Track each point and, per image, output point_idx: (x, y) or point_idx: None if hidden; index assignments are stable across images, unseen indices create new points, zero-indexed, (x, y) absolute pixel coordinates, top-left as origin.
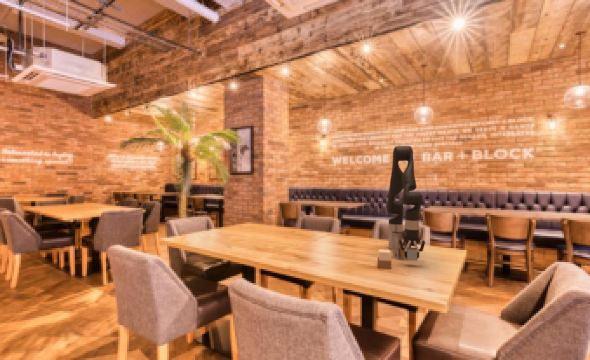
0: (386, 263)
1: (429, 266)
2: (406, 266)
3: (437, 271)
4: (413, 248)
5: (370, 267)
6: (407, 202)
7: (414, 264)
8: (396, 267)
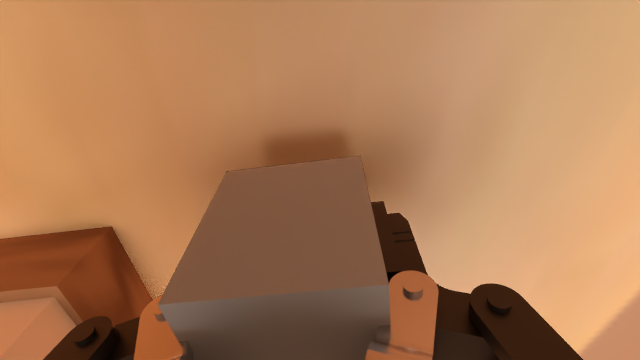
0: None
1: (505, 123)
2: None
3: (532, 251)
4: (327, 347)
5: None
6: None
7: (338, 107)
8: None
